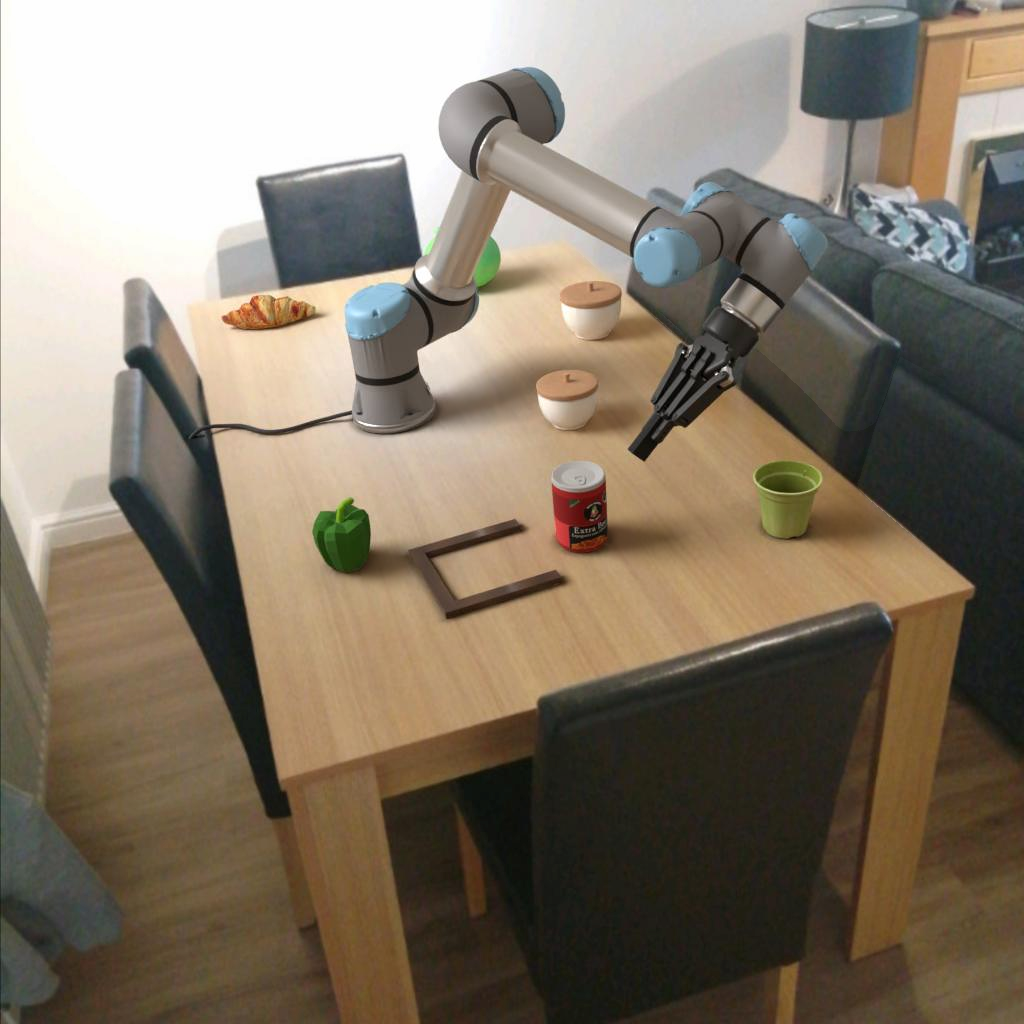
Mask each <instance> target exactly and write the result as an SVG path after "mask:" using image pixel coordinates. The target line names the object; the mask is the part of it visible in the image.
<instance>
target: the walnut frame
mask: <svg viewBox="0 0 1024 1024" xmlns="http://www.w3.org/2000/svg"><path fill="white" fill-rule="evenodd" d="M521 530H522V528H521V524H520V523H519V521H518V520H517V519H516V518H513V519H510V520H506V521H503V522H499V523H496V524H493V525H489V526H485V527H483V528H479V529H475V530H472V531H468V532H465V533H461V534H457V535H455V536H452V537H447V538H443V539H440V540H438V541H434V542H432V543H427V544H423V545H421V546H418V547H414V548H410V549H408V550H407V551H408V556H409V559H410V560H411V562H412V563H413V565H414V567H415V568H416V570H417V572H418V573H419V575H420V577H421V578H422V580H423V582H424V584H425V585H426V588H427V589H428V590H429V592H430V594H431V595H432V598H433V599H434V601H435V603H436V604H437V606H438V608H439V610H440V611H441V613H442V615H443V616H444V618H445V619H449V618H454V617H456V616H459V615H463V614H466V613H470V612H472V611H476V610H478V609H482V608H485V607H488V606H492V605H495V604H498V603H500V602H501V603H502V602H504V601H507V600H511V599H514V598H517V597H520V596H523V595H526V594H530V593H533V592H536V591H540V590H542V589H545V588H549V587H552V586H556V585H558V584H562V583H563V577H562V576H561V574H560V573H559V572H558V570H557V569H553V570H549V571H546V572H543V573H540V574H537V575H533V576H530V577H527V578H524V579H521V580H518V581H515V582H510V583H508V584H505V585H501V586H498V587H494V588H492V589H489V590H486V591H482V592H479V593H475V594H472V595H468V596H465V597H463V598H459V599H456V600H455V599H454V598H453V596H452V595H451V593H450V591H449V590H448V588H447V587H446V585H445V582H443V579H442V578H441V577H440V575H439V574H438V572H437V570H436V568H435V567H434V566H433V564H432V562H431V561H430V559H429V558H431V557H435V556H439V555H442V554H445V553H449V552H452V551H455V550H459V549H463V548H465V547H469V546H473V545H475V544H476V545H477V544H479V543H484V542H487V541H490V540H493V539H496V538H500V537H503V536H507V535H509V534H513V533H516V532H520V531H521Z"/></svg>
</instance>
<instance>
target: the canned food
mask: <svg viewBox="0 0 1024 1024" xmlns="http://www.w3.org/2000/svg"><path fill="white" fill-rule="evenodd" d="M606 478H607V477H606V471H605V468H603V467H602V466H601V465H600V464H598V463H596V462H593V461H588V460H571V461H567V462H564V463H561V464H559V465H558V466H556V467H555V468H554V469H553V470H552V472H551V479H550V480H551V482H550V483H551V492H552V493H551V494H552V507H553V518H554V530H555V538H556V541H557V543H558V545H559V546H560V547H561V548H562V549H565V550H566V551H569V552H573V553H579V554H581V553H582V554H583V553H590V552H595V551H597V550H598V549H600V548H602V547H603V546H604V545H605V544H606V542H607V539H608V536H609V526H608V523H609V522H608V500H607V480H606Z"/></svg>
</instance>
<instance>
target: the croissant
mask: <svg viewBox="0 0 1024 1024" xmlns="http://www.w3.org/2000/svg"><path fill="white" fill-rule="evenodd" d="M316 311H317V309H316V306H315V305H311V304H309V303H308V302H306V301H304V300H301V301H298V300H295V299H292V297H289V296H287V295H286V296H282V297H276V298H275V296H273V295H270V294H257V295H253V296H252V297H251V298H250V301H249V302H245V303H243V304H241V305H240V307H239V308H238V309H233V310H230V311H229V312H228V313H227V314H224V315H221V321H222V322H223V323H224V324H226V325H229V326H233V327H236V328H238V329H244V330H250V329H251V330H263V329H266V328H267V329H269V328H277V327H281V326H283V325H287V324H288V323H294V322H296V321H300V320H301V319H302V318H304V319H305V318H309V317H311V316H313V315H314V314H315V313H316Z"/></svg>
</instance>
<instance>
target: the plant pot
mask: <svg viewBox="0 0 1024 1024" xmlns="http://www.w3.org/2000/svg"><path fill="white" fill-rule="evenodd" d="M752 479H753V483H754V485H755V486H756V490H757V492H758V497H759V505H760V512H761V520H762V527H763V529H764V530H765V532H766V533H767V534H768V535H769V536H772V537H773V538H777V539H790V538H794V537H797V538H799V537H800V536H803V535H804V534H805V533H806V531H807V529H808V525H809V521H810V516H811V512H812V508H813V505H814V501H815V497H816V495H817V493H818V492H819V488H821V486H822V484H823V481H824V477H823V473H822V472H821V471H820V470H819V469H818V468H817V467H816V466H814V465H812V464H810V463H808V462H804V461H800V460H793V459H778V460H777V459H776V460H772V461H768V462H765V463H763V464H761V465H759V466H758V467H756V469H755V470H754V471H753V474H752Z"/></svg>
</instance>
